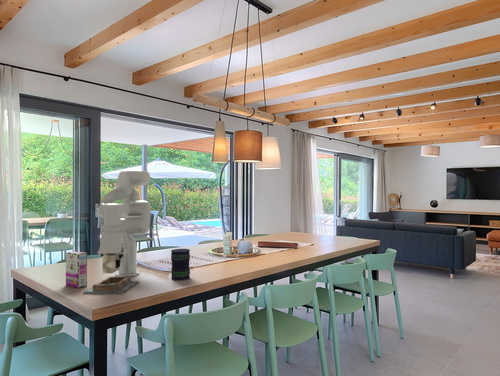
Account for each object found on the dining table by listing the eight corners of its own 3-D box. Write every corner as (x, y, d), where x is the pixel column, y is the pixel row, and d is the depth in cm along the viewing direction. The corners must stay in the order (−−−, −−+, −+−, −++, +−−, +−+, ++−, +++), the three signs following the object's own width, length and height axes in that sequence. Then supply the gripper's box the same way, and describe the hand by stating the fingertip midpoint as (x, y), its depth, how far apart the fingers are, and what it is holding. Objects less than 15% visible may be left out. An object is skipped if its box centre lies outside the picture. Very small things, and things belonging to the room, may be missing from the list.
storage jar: (172, 276, 195) (172, 248, 195) (190, 275, 196) (190, 248, 196) (169, 280, 185) (169, 251, 185) (189, 280, 186) (188, 251, 186)
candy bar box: (87, 286, 176) (87, 252, 176) (78, 288, 172) (77, 254, 172) (74, 283, 182) (74, 250, 182) (65, 285, 178) (65, 252, 178)
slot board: (103, 282, 182) (103, 275, 182) (138, 282, 181) (138, 275, 181) (83, 293, 162) (83, 285, 162) (122, 293, 161) (122, 286, 161)
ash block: (102, 273, 166) (102, 255, 166) (112, 268, 177) (112, 252, 177) (111, 273, 166) (111, 255, 166) (121, 268, 177) (121, 252, 177)
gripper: (91, 230, 169) (91, 269, 168) (126, 230, 168) (126, 269, 167) (98, 229, 176) (98, 266, 176) (132, 228, 175) (132, 266, 175)
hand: (112, 267), depth 172 cm, fingers closed on ash block, 4 cm apart
